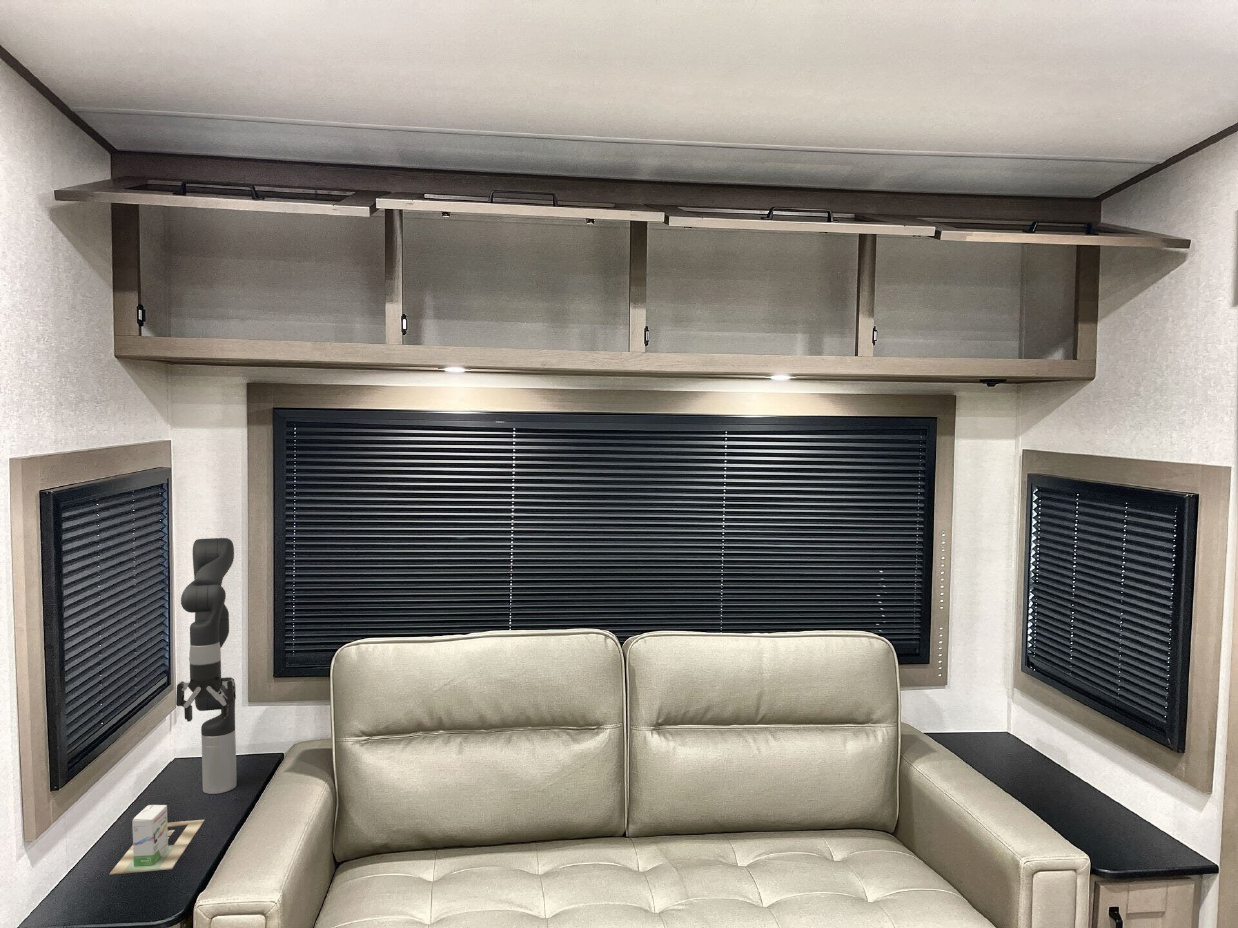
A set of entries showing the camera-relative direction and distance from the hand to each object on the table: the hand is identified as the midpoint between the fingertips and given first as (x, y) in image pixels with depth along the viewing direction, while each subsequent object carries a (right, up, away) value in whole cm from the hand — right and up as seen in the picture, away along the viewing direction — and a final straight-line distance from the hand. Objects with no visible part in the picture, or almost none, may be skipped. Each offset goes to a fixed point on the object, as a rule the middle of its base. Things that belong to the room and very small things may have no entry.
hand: (206, 719), depth 224 cm
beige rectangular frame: (-8, -31, -8) cm, 33 cm away
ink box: (-7, -31, -14) cm, 34 cm away
